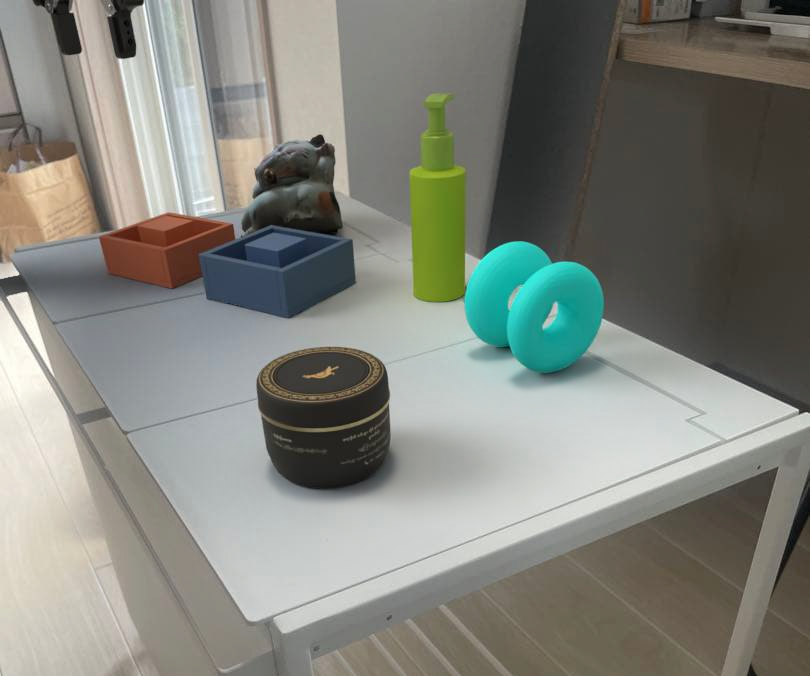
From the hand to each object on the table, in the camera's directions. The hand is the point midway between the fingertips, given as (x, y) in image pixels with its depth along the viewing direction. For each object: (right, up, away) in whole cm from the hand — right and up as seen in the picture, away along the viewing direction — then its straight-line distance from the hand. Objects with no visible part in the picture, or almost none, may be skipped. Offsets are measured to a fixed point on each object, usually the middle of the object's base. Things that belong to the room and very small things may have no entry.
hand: (99, 56), depth 88 cm
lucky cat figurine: (+17, -9, +28) cm, 33 cm away
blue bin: (+18, -21, +10) cm, 30 cm away
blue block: (+18, -21, +10) cm, 29 cm away
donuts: (+44, -33, -7) cm, 56 cm away
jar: (+26, -44, -21) cm, 56 cm away
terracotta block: (+3, -15, +18) cm, 24 cm away
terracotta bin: (+3, -16, +19) cm, 25 cm away
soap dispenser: (+36, -22, +8) cm, 43 cm away
